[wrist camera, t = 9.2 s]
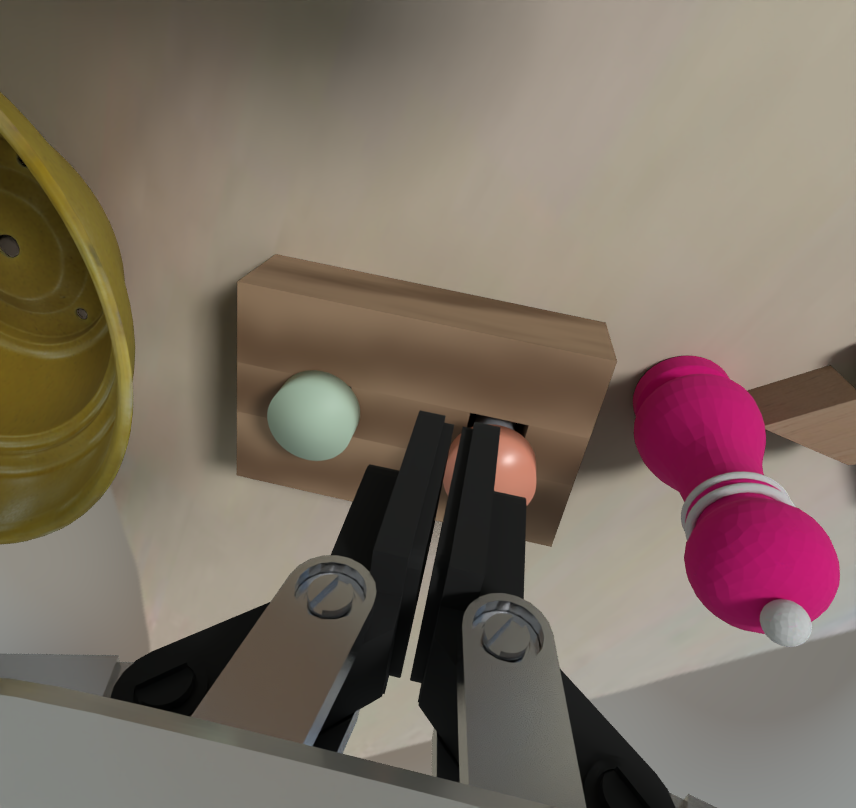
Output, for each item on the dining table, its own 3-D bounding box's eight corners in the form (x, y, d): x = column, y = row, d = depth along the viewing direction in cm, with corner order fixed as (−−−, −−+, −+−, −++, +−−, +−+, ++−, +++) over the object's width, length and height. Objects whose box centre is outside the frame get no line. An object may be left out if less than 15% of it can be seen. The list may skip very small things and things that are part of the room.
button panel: (275, 254, 40) (237, 281, 35) (605, 322, 39) (617, 361, 34) (269, 430, 47) (236, 475, 42) (549, 492, 46) (551, 546, 40)
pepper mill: (680, 460, 43) (782, 725, 25) (602, 404, 42) (653, 641, 24) (764, 389, 39) (948, 640, 22) (681, 326, 38) (807, 537, 21)
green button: (309, 328, 41) (268, 376, 35) (384, 344, 41) (356, 395, 34) (305, 394, 44) (265, 450, 37) (375, 409, 43) (347, 468, 37)
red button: (465, 373, 39) (452, 433, 33) (544, 390, 39) (546, 454, 32) (450, 440, 42) (436, 507, 35) (525, 456, 41) (523, 527, 35)
